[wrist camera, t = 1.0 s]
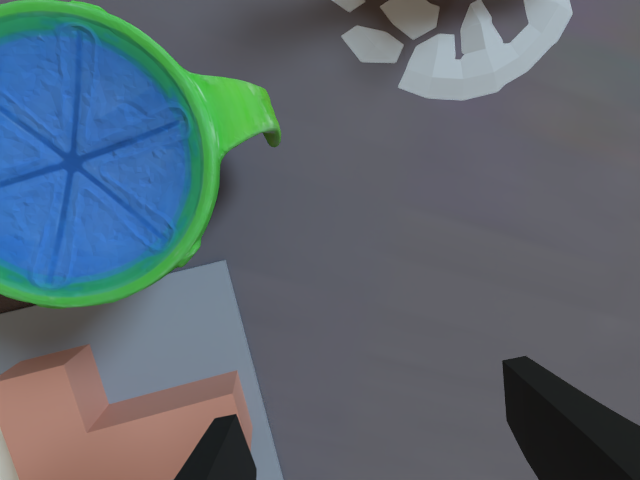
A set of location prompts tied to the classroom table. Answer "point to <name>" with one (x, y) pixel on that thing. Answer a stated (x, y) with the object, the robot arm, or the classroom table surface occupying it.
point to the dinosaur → (476, 42)
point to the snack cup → (106, 154)
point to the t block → (106, 421)
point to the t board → (150, 346)
